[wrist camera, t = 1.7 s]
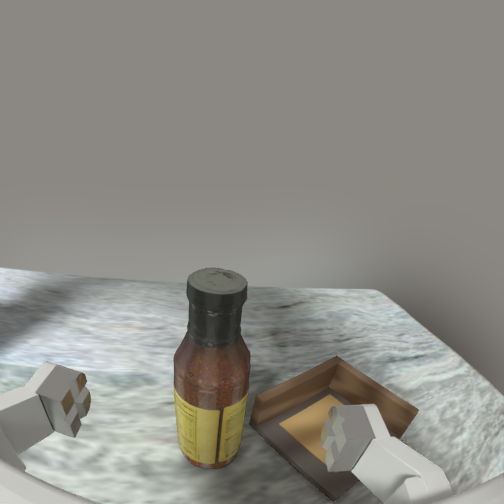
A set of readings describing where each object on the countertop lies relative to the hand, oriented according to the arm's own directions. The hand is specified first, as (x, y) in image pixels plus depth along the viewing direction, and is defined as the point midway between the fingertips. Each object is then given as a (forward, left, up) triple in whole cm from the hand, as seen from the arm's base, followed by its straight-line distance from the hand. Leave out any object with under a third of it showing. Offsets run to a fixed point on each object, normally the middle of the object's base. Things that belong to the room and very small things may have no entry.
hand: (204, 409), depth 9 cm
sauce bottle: (-10, +7, -21) cm, 24 cm away
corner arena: (-4, +20, -21) cm, 29 cm away
